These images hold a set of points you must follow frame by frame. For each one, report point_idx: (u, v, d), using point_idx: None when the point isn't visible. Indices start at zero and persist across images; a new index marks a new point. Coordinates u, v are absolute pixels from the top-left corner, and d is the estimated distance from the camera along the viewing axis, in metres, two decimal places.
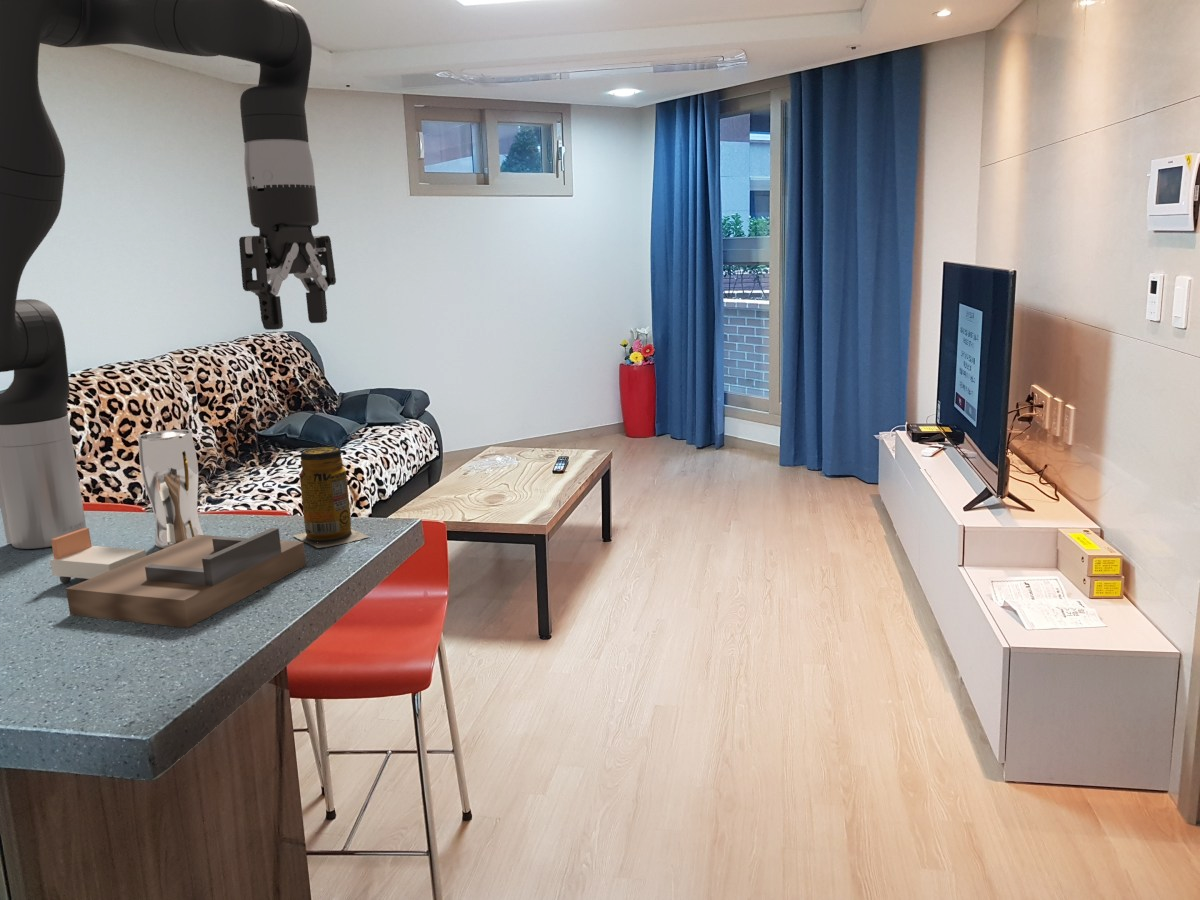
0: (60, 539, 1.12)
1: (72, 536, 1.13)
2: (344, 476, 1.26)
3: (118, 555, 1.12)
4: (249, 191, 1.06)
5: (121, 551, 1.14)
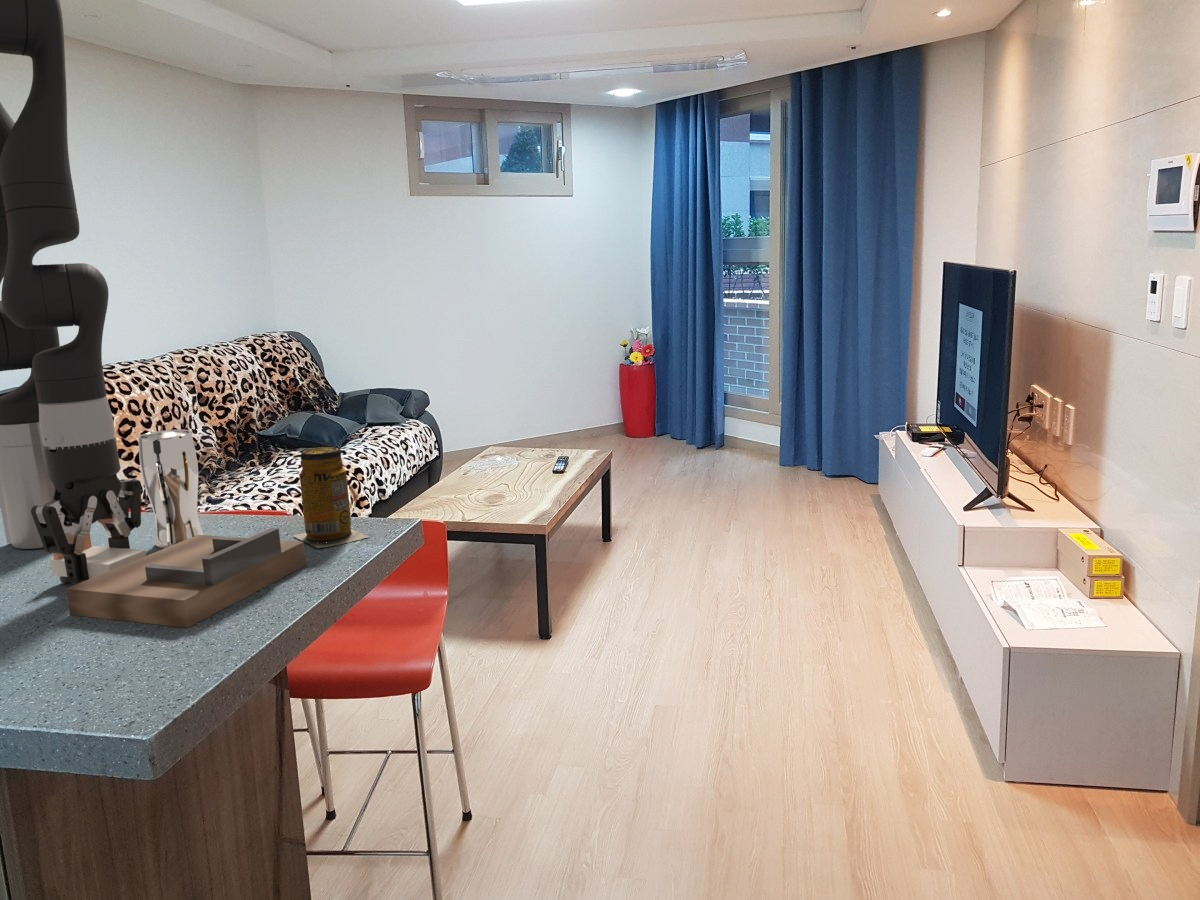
0: None
1: None
2: (344, 476, 1.26)
3: (118, 555, 1.12)
4: (44, 449, 1.08)
5: (121, 551, 1.14)
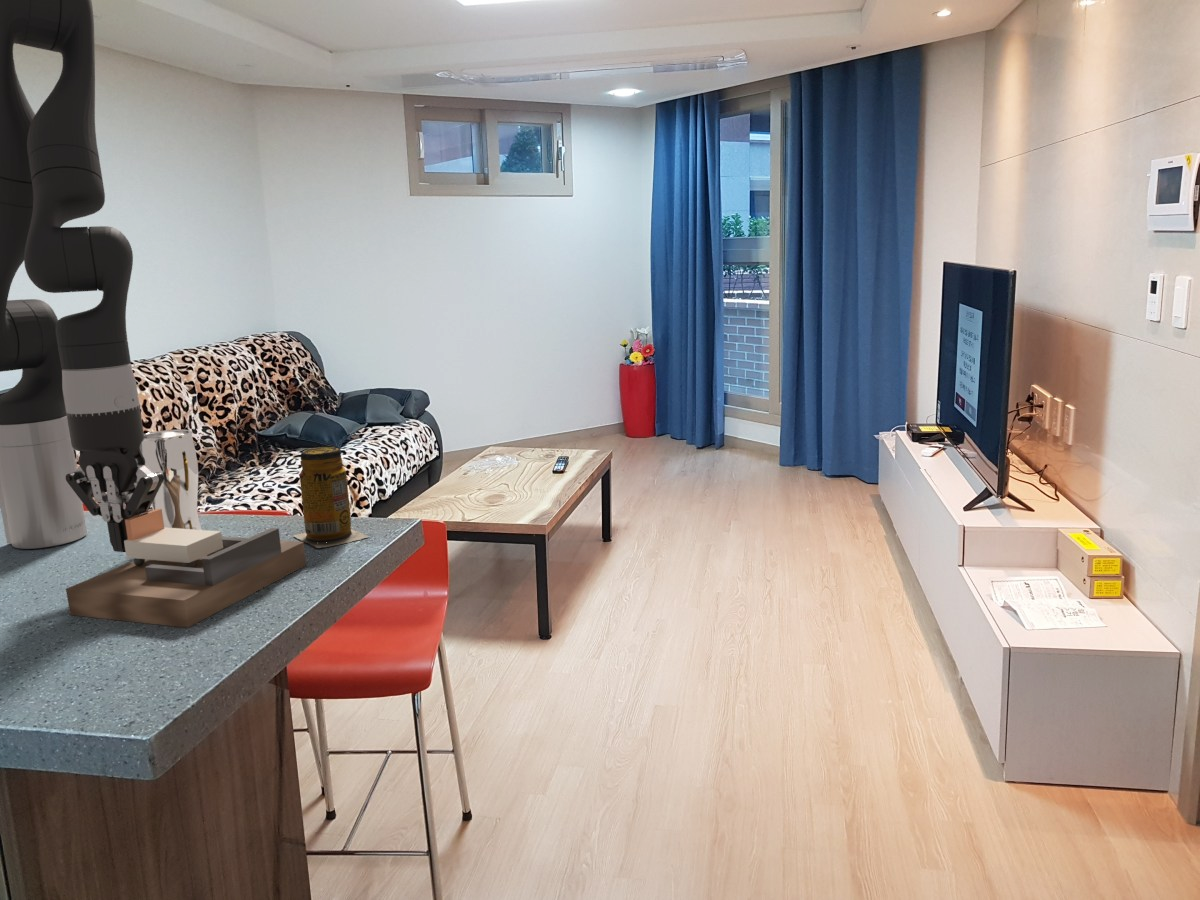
0: (134, 520, 1.07)
1: (146, 517, 1.09)
2: (344, 476, 1.26)
3: (194, 536, 1.08)
4: None
5: (196, 533, 1.09)
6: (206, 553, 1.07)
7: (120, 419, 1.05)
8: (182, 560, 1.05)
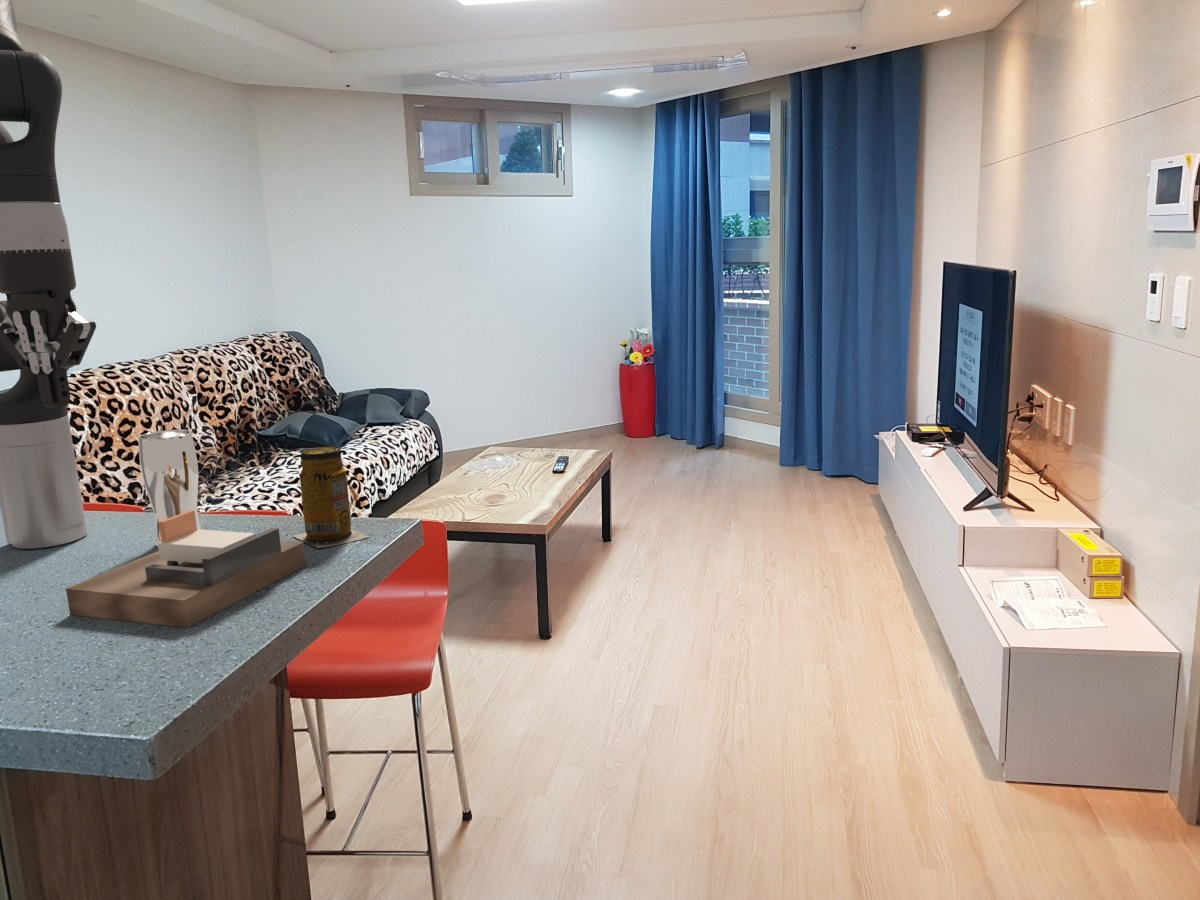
0: (168, 521, 1.06)
1: (179, 519, 1.08)
2: (344, 476, 1.26)
3: (229, 538, 1.06)
4: None
5: (231, 535, 1.08)
6: None
7: (48, 259, 0.99)
8: None
